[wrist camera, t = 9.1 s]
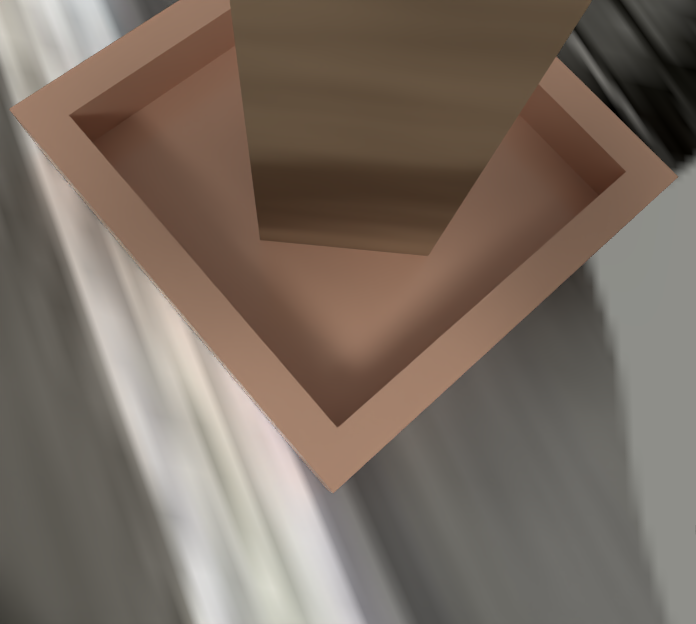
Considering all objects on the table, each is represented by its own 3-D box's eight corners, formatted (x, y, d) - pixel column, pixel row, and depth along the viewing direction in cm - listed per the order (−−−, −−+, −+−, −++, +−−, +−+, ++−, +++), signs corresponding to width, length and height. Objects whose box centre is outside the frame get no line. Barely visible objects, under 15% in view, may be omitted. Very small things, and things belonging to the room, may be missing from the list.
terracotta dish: (637, 207, 19) (678, 177, 17) (327, 490, 16) (332, 493, 14) (365, -67, 20) (373, -124, 18) (40, 149, 17) (9, 109, 16)
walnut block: (428, 256, 17) (607, -23, 7) (260, 239, 17) (219, -73, 7) (433, 107, 18) (595, -303, 9) (276, 90, 18) (261, -356, 8)
